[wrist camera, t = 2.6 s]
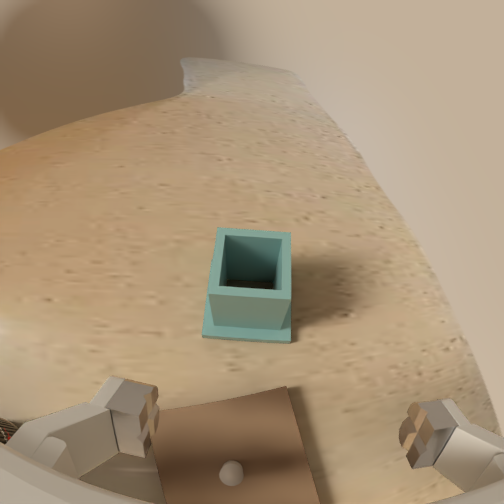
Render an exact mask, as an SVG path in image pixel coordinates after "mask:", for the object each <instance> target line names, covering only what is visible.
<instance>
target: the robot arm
mask: <svg viewBox="0 0 504 504" xmlns="http://www.w3.org/2000/svg"><path fill="white" fill-rule="evenodd" d="M157 399H158V388H157V387H156V386H155V385H150V384H146V383H142V382H137V381H133V380H129V379H125V378H121V377H117V376H113V375H112V376H110V377H108V379H107V380H106V381H105V383H104V384H103V385H102V387H101V388H100V389H99V391H98V392H97V393H96V395H95V396H94V397H93V399H92V400H91V401H90V403H87V402H84V403H81V404H78V405H75V406H73V407H70V408H67V409H64V410H61V411H58V412H55V413H52V414H49V415H46V416H43V417H40V418H37V419H34V420H31V421H28V422H25V423H24V424H23V425H22V426H21V427H20V428H19V429H18V430H17V432H16V433H15V434H14V435H13V436H12V437H11V438H10V440H9V441H8V442H7V443H6V444H5V445H4V444H3V443H1V442H0V504H155V503H151V502H147V501H143V500H139V499H136V498H132V497H129V496H125V495H122V494H118V493H115V492H112V491H109V490H106V489H103V488H100V487H97V486H94V485H91V484H89V483H86V482H83V481H81V480H80V478H79V477H81V476H83V475H84V474H86V473H88V472H89V471H91V470H93V469H94V468H96V467H98V466H99V465H101V464H102V463H104V462H106V461H107V460H109V459H110V458H112V457H114V456H115V455H117V454H118V453H119V452H122V453H126V454H130V455H134V456H138V457H142V458H145V457H146V455H147V452H148V450H149V447H150V445H151V439H150V437H151V436H153V435H154V434H155V433H156V430H157V427H158V423H159V406H158V405H157V404H156V401H157ZM407 413H408V415H409V417H408V418H407V419H405V420H404V421H403V422H402V425H401V427H400V431H399V440H400V444H401V446H402V447H403V448H404V449H406V450H407V451H408V452H407V455H406V457H407V459H408V461H409V463H410V466H411V468H412V469H416V468H422V467H429V466H433V468H435V469H436V470H437V471H438V472H440V473H441V474H442V475H443V476H445V477H446V478H447V479H449V480H450V481H451V482H452V483H454V484H455V485H456V486H457V487H459V488H460V489H461V490H463V491H464V492H465V493H463V494H460V495H457V496H453V497H450V498H446V499H443V500H439V501H435V502H431V503H427V504H504V438H503V437H501V436H499V435H497V434H495V433H493V432H491V431H489V430H487V429H484V428H482V427H480V426H478V425H476V424H471V423H470V422H469V421H468V419H467V418H466V417H465V415H464V414H463V413H462V412H461V410H460V409H459V408H458V406H457V405H456V404H455V402H454V401H453V400H452V399H450V398H446V399H439V400H434V401H423V402H413V403H412V404H411V405H410V407H409V409H408V411H407Z"/></svg>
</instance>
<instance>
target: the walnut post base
mask: <svg viewBox="0 0 504 504" xmlns="http://www.w3.org/2000/svg"><path fill="white" fill-rule="evenodd" d="M151 442H152V447H153V451H154V456H155V460H156V465H157V469H158V473H159V477H160V481H161V485H162V489H163V493H164V496H165V500H166V504H320V501H319V498H318V494H317V491H316V488H315V484H314V481H313V477H312V474H311V470H310V467H309V463H308V460H307V457H306V453H305V450H304V446H303V443H302V439H301V436H300V432H299V429H298V425H297V422H296V418H295V415H294V411H293V408H292V404H291V401H290V398H289V394H288V391H287V387H286V386H284V387H280V388H276V389H272V390H268V391H264V392H260V393H256V394H251V395H247V396H242V397H237V398H233V399H228V400H223V401H217V402H212V403H207V404H201V405H195V406H189V407H182V408H176V409H169V410H161V411H159V423H158V427H157V430H156V433H155V434H154V435H153V436H151Z"/></svg>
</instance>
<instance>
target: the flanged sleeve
mask: <svg viewBox="0 0 504 504" xmlns="http://www.w3.org/2000/svg"><path fill="white" fill-rule="evenodd" d="M227 279H230V280H244V281H258V282H272V283H273V290H270V289H255V288H241V287H227V286H226V285H227ZM202 337H203V338H213V339H224V340H237V341H251V342H267V343H287V344H289V343H290V341H291V233H288V232H275V231H262V230H248V229H233V228H219V227H218V228H217V234H216V241H215V248H214V255H213V259H212V261H211V268H210V276H209V283H208V290H207V298H206V305H205V313H204V321H203V329H202Z"/></svg>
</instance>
